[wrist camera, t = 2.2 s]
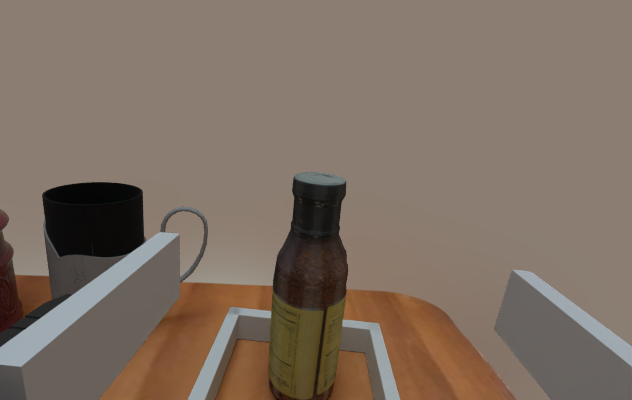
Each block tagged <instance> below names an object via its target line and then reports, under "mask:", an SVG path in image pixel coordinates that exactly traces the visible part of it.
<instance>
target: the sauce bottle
mask: <svg viewBox="0 0 632 400" xmlns="http://www.w3.org/2000/svg"><path fill="white" fill-rule="evenodd" d="M292 192H293V195H294V209H293V220H292V222H291V230H290V232H289V234H288V237H287V239H286V241H285V243H284V245H283V247H282V248H281V250H280V251H279V253H278V256H277V261H276V267H275V273H274V279H273V293H272V310H271V325H270V347H269V364H268V373H269V377H270V379H269V384H270V388H271V390H272V391H273V393H274V394H275V396H276V397H277V399H279V400H326V398H327V397H328V396H329V394H330V393H331V391H332V388H333V382H334V379H335V375H336V369H337V362H338V353H339V346H340V338H341V330H342V322H343V315H344V307H345V300H346V292H347V291H346V281H347V276H348V264H347V255H346V250H345V249H344V246H343V244H342V241H341V239H340V236H339V230H340V226H339V221H340V211H341V202H342V200H343V199H344V197H345V195H346V180H345V179H343V178H342V177H338V176H336V175H331V174H324V173H317V172H305V173H299V174H297V175H295V176H294V180H293V188H292Z"/></svg>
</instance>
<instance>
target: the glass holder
mask: <svg viewBox="0 0 632 400" xmlns="http://www.w3.org/2000/svg"><path fill="white" fill-rule="evenodd" d="M142 194H143V192H142V190H141V189H140V188H138V187H135V186H132V185H127V184H121V183H108V182H107V183H106V182H92V183H78V184H70V185H64V186H60V187H56V188H52V189H49V190H47V191H46V192H44V193H43V195H42V197H43V206H44V214H45V220H44V224H43V228H44V236H45V244H46V253H47V260H48V268H49V277H50V285H51V293H52V300H53V299H56V298H58V297H60V296H63V295H65V294H75V293H76V292H77V291H79V290H80V289H82V288H83V287H84V286H86V285H87V284H89V283H90V282H91V281H93V280H94V279H95V278H97V277H98V276H100V275H101V274H102V273H104V272H105V271H107V270H108V269H109V268H111V267H112V266H113V265H115V264H116V263H118V262H119V261H120V260H122V259H123V258H125V257H126V256H127V255H129V254H130V253H131V252H133V251H134V250H136V249H137V248H138V247H140V246H141V245H143V244H144V243H145V242H146V238H145V237H144V225H143V195H142ZM180 211H189V212H192V213H195V214H197V215H198V216H199V217H200V218H201V219H202V221H203V223H204V232H205V233H204V240H203V245H202V248H201V251H200V253H199V255H198V257H197V259H196V261H195V262H194V264H193V265H192V266H191V268H190V269H189V270H188V271H187V272H186V273H185V274H184V275H183V276H182V277H180V283H181V282H182V281H183V280H185V279H186V278H187V277H188V276H190V275H191V274H192V273H193V271H194V270H195V268H196V267H197V265H198V264H199V262H200V260H201V258H202V256H203V254H204V251H205V247H206V245H207V236H208V235H207V234H208V226H207V221H206V219H205V217H204V215H203V214H202V213H200V212H199V211H198V210H196V209H193V208H190V207H179V208H175V209H174V210H172V211H170V212H169V213H168V214H167V215H166V216H165V217H164V220H163V222H162V224H161V232H164V233H165V228H166V223H167V221H168V219H169V218H170V217H171V216H172V215H173V214H175V213H177V212H180Z"/></svg>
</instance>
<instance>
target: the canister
mask: <svg viewBox="0 0 632 400" xmlns="http://www.w3.org/2000/svg"><path fill="white" fill-rule="evenodd" d="M8 221H9V217H8V215H7V214H6V213H5V212H4V211H2V210H0V333H1V332H3V331H4V330H6V329H10V326H12V325H13V324H15V323H16V322H17V321H19V320H20V319H22V318H23V310H22V303H21V301H20V299H19V298H18V293H17V287H16V280H15V274H14V268H13V261H12V257H13V253H14V252H13V248H12V247H11V245H10V244H9V243H7V242H6V241H5V240H4V236H3V232H2V230H3V229H4V228H5V226H6V225H7V223H8Z"/></svg>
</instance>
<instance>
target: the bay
mask: <svg viewBox="0 0 632 400" xmlns="http://www.w3.org/2000/svg"><path fill="white" fill-rule="evenodd" d="M270 325H271V311H264V310H255V309H246V308H237V307H230V309H229V311H228V313H227V316H226V318H225V320H224V322H223V324H222V327H221V329H220V331H219V333H218V335H217V337H216V340H215V342H214V344H213V346H212V348H211V350H210V353H209V355H208V357H207V359H206V361H205V363H204V366H203V368H202V370H201V372H200V374H199V377H198V379H197V381H196V383H195V385H194V387H193V390H192V392H191V394H190V396H189V398H188V400H215V398H216V395H217V393H218V390H219V387H220V384H221V382H222V379H223V376H224V374H225V371H226V368H227V365H228V363H229V360H230V357H231V354H232V352H233V349H234V346H235V343H236V341H237V339H245V340H254V341H263V342H270ZM339 350H345V351H354V352H363V353H365V354H366V360H367V365H368V370H369V376H370V381H371V386H372V392H373V397H374V400H400V397H399V394H398V390H397V387H396V383H395V379H394V376H393V372H392V369H391V365H390V362H389V358H388V354H387V351H386V347H385V344H384V340H383V337H382V333H381V329H380V326H379V324H378V323H370V322H361V321H352V320H343V322H342V330H341V338H340V346H339Z"/></svg>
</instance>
